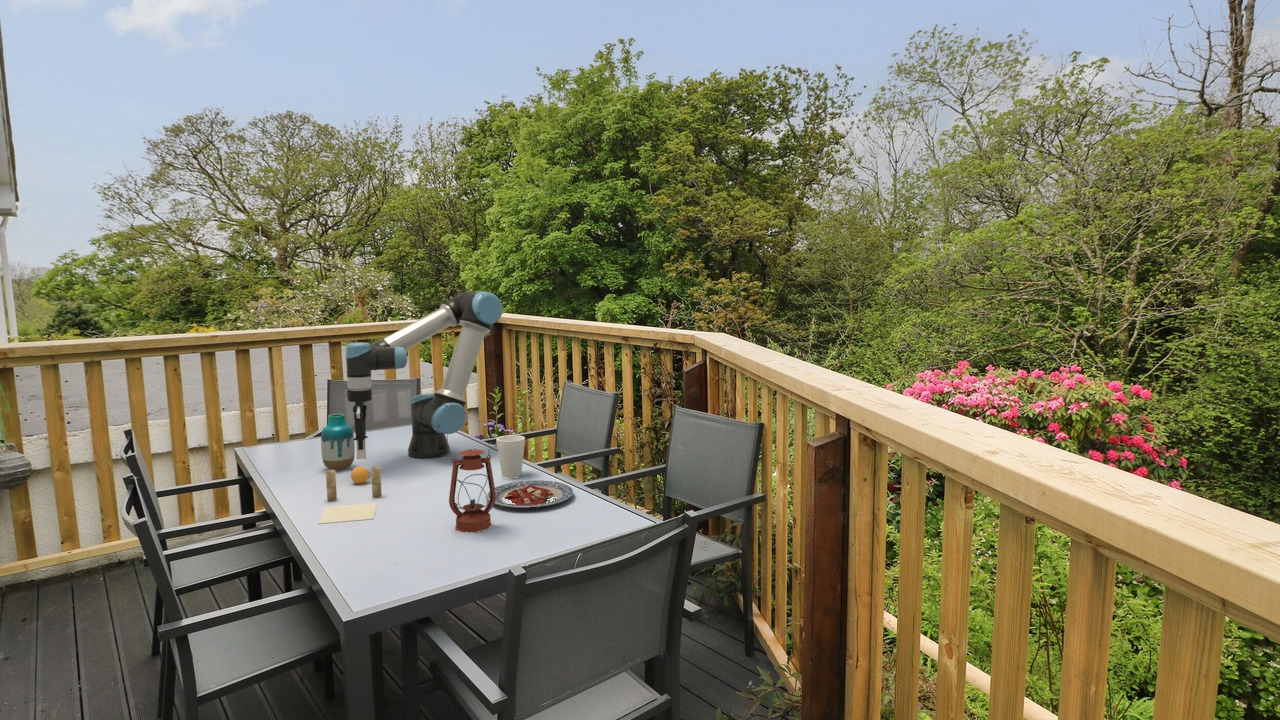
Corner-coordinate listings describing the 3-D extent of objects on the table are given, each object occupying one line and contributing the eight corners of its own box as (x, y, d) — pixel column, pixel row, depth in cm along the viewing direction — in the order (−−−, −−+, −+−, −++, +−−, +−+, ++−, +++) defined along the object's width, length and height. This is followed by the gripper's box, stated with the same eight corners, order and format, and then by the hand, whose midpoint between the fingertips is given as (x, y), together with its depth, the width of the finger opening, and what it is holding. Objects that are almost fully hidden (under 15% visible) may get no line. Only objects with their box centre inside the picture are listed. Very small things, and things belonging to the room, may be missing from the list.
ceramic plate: (469, 500, 205) (469, 490, 205) (537, 482, 224) (537, 473, 224) (522, 520, 188) (522, 510, 187) (590, 499, 206) (590, 489, 206)
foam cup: (491, 478, 227) (490, 440, 226) (507, 471, 236) (506, 434, 234) (516, 481, 224) (515, 442, 222) (530, 473, 232) (530, 436, 231)
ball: (370, 480, 224) (369, 464, 224) (368, 485, 219) (367, 468, 218) (352, 481, 223) (351, 465, 222) (350, 486, 217) (349, 469, 217)
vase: (347, 473, 233) (344, 418, 230) (316, 473, 233) (313, 418, 231) (360, 465, 243) (358, 412, 241) (331, 464, 243) (328, 412, 241)
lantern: (472, 535, 176) (469, 421, 172) (445, 527, 181) (441, 417, 178) (499, 524, 184) (496, 415, 181) (472, 517, 189) (469, 411, 186)
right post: (381, 494, 209) (380, 466, 208) (381, 497, 207) (379, 468, 206) (372, 495, 208) (371, 467, 207) (372, 498, 206) (370, 469, 205)
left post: (337, 498, 205) (335, 469, 204) (336, 501, 203) (334, 471, 202) (328, 499, 205) (326, 470, 204) (326, 501, 202) (325, 472, 201)
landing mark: (377, 503, 201) (377, 502, 201) (373, 519, 188) (373, 518, 188) (325, 507, 197) (325, 507, 197) (317, 524, 184) (317, 523, 184)
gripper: (349, 386, 232) (351, 454, 234) (344, 392, 219) (346, 463, 222) (373, 385, 234) (375, 453, 236) (369, 391, 221) (371, 462, 224)
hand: (361, 458), depth 229 cm, fingers closed
